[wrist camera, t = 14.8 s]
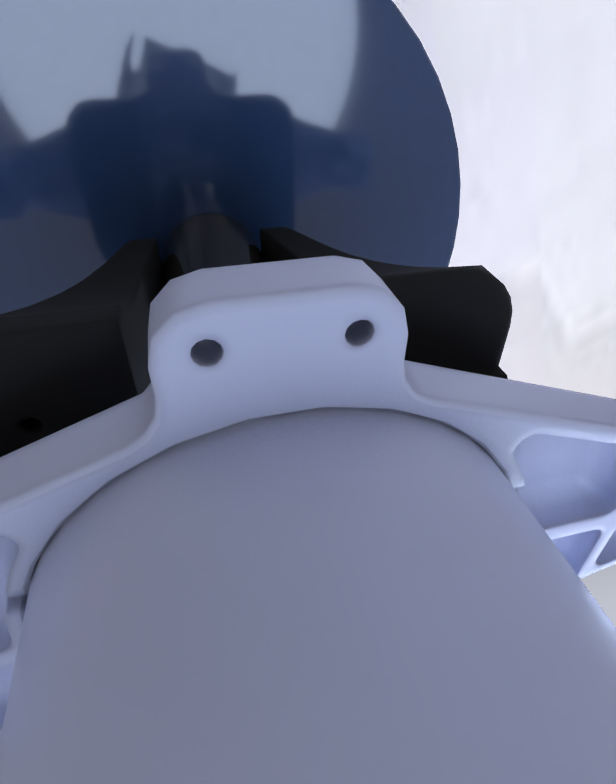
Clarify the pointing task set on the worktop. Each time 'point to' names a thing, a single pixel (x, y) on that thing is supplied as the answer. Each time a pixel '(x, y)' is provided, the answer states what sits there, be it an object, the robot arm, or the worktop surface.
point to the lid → (216, 136)
